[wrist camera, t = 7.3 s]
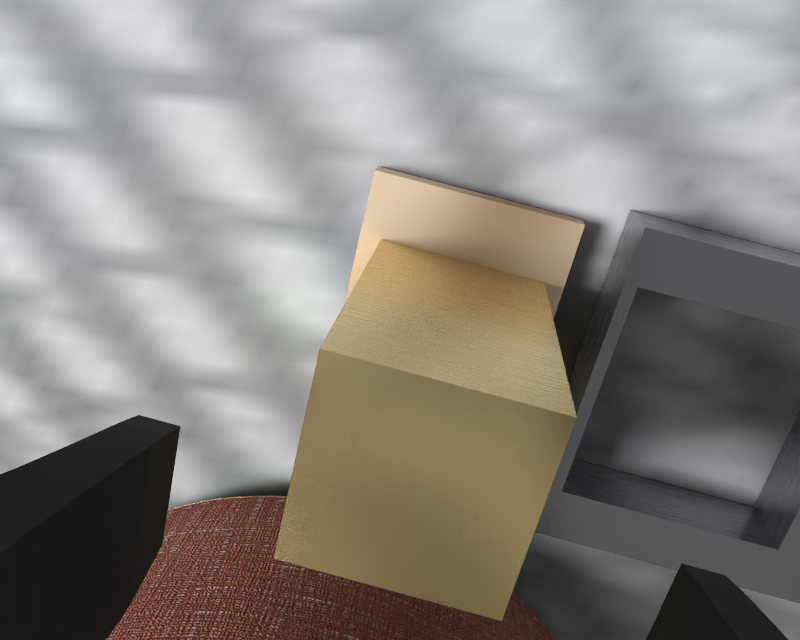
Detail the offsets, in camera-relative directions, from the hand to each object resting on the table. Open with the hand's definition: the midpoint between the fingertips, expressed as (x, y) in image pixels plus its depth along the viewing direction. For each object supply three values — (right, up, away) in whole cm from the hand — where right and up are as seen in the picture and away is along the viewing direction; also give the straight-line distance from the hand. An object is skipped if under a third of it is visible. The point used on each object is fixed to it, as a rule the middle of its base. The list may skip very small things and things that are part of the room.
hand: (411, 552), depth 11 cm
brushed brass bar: (+1, +3, +8) cm, 9 cm away
